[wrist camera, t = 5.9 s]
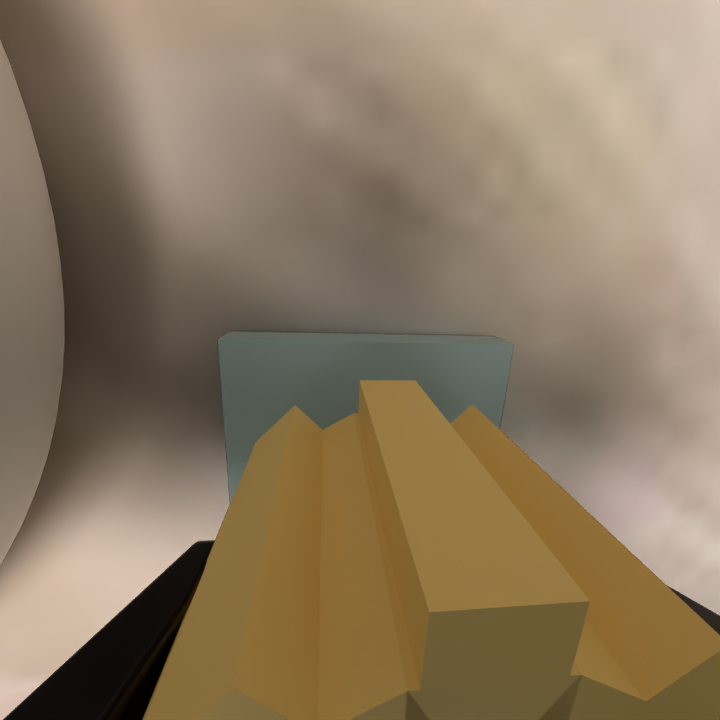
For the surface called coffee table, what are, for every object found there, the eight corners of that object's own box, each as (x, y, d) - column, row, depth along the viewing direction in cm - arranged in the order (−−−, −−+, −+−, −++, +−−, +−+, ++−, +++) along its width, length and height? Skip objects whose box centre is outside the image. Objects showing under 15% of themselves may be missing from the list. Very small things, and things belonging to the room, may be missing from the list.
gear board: (493, 335, 11) (669, 408, 5) (442, 688, 15) (512, 936, 9) (230, 331, 10) (111, 412, 4) (253, 706, 14) (208, 991, 8)
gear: (494, 613, 9) (674, 982, 4) (242, 631, 9) (136, 1089, 4) (536, 380, 8) (904, 580, 3) (224, 379, 7) (-14, 642, 2)
